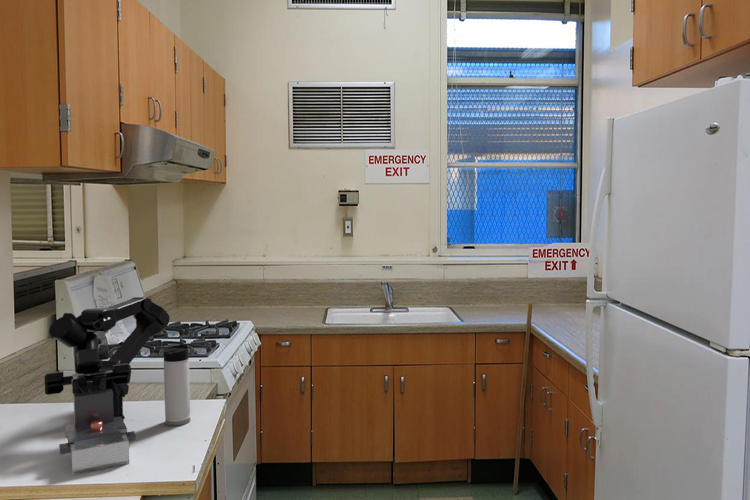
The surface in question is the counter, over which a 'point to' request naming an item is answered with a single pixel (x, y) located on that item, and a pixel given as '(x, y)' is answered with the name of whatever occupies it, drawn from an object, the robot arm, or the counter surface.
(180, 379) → the travel mug
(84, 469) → the grey box with handles
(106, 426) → the lid
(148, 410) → the counter surface
